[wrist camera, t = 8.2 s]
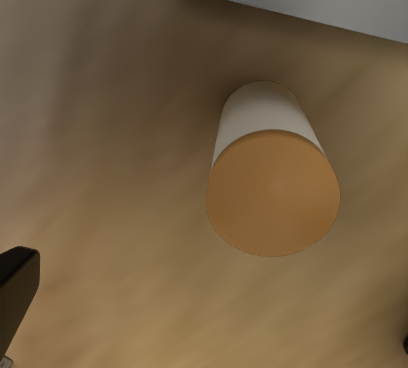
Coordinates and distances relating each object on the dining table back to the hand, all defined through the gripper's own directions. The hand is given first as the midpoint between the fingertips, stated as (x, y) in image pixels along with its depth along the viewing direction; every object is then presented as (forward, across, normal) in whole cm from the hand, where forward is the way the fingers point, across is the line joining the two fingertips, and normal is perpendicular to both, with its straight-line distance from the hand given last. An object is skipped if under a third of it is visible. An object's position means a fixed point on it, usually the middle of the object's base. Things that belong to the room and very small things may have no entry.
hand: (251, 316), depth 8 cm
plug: (+12, -1, 0) cm, 13 cm away
